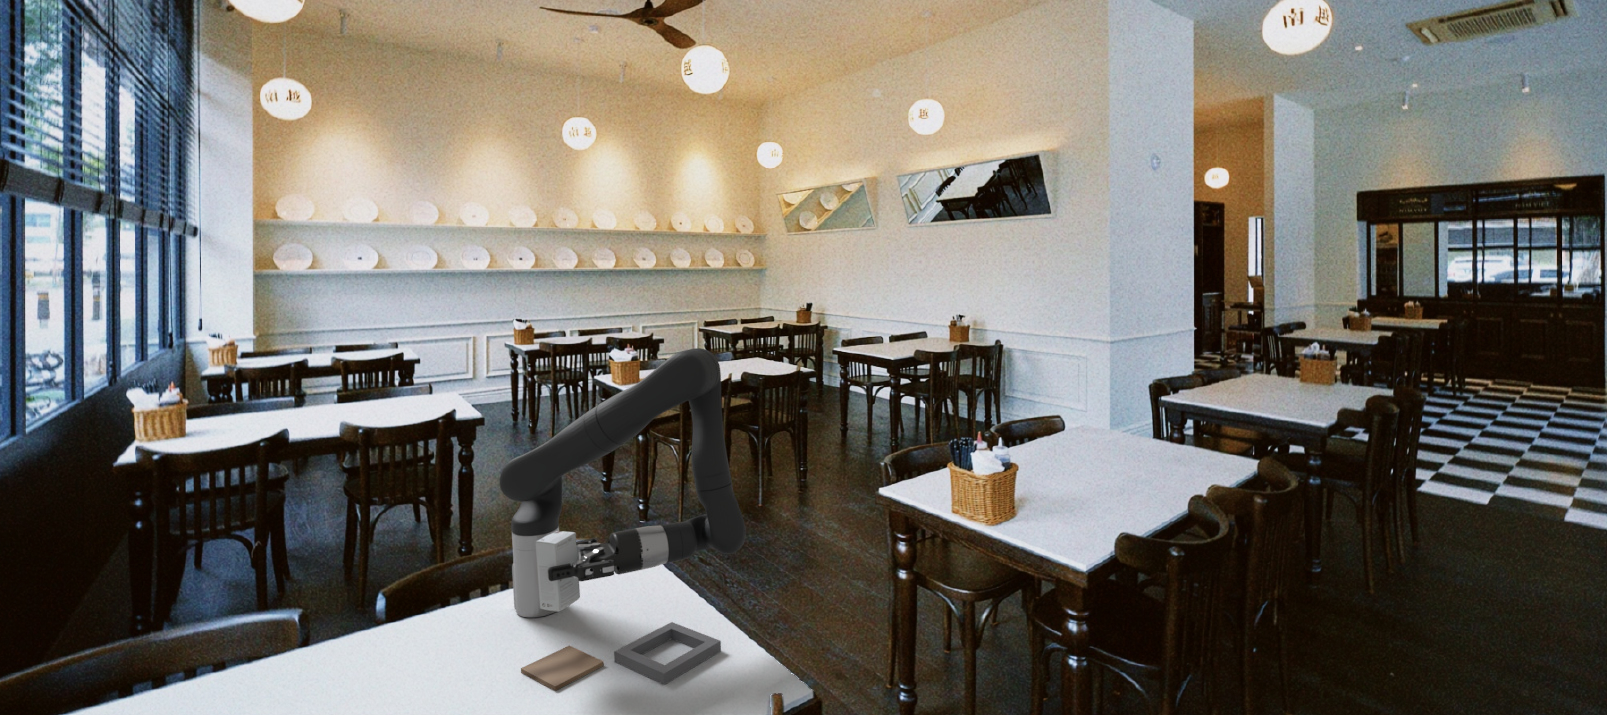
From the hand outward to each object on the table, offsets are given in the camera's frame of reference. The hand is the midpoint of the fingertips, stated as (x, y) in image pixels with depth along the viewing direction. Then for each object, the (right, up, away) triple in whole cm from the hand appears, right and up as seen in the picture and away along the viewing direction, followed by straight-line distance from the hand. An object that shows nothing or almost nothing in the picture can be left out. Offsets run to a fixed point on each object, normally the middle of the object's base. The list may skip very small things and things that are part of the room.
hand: (544, 567), depth 128 cm
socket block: (+20, -18, +7) cm, 28 cm away
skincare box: (+2, -7, +2) cm, 8 cm away
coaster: (+2, -19, +3) cm, 19 cm away
